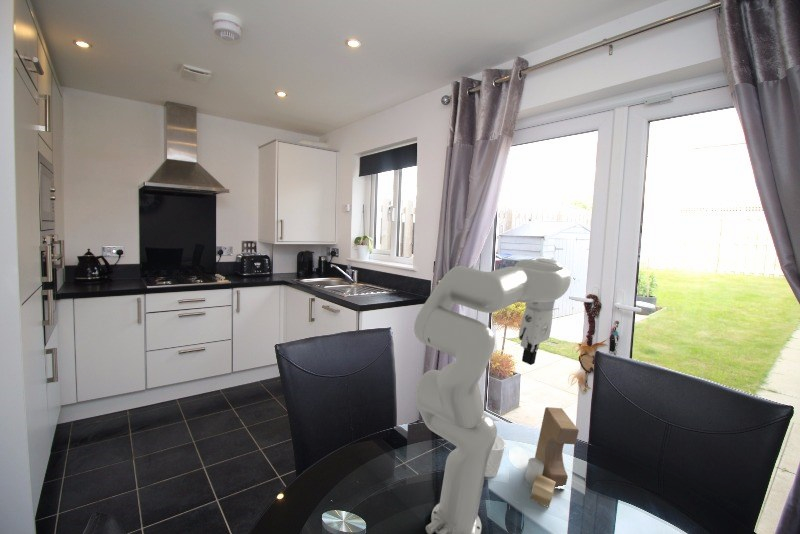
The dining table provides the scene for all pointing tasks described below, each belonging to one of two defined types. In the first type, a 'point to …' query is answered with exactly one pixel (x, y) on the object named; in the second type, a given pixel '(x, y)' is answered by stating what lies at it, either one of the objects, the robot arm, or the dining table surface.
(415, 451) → the dining table surface
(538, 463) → the grey tub
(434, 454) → the dining table surface
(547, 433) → the decorative block
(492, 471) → the white cup
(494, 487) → the dining table surface
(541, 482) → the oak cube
